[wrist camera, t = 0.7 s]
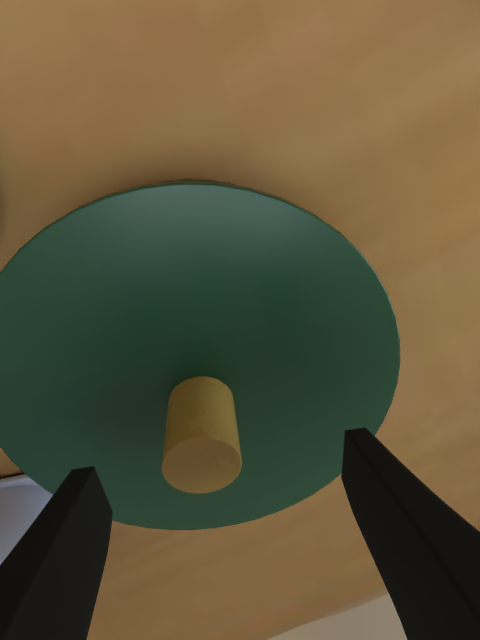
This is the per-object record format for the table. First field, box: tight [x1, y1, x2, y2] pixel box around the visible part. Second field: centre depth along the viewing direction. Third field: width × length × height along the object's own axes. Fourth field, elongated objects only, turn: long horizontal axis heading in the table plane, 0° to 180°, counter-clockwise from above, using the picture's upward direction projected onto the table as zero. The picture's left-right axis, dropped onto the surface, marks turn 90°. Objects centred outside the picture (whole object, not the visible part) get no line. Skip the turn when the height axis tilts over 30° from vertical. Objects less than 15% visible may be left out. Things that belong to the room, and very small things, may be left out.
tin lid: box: [0, 181, 400, 530], centre depth 13 cm, size 17×17×4 cm
